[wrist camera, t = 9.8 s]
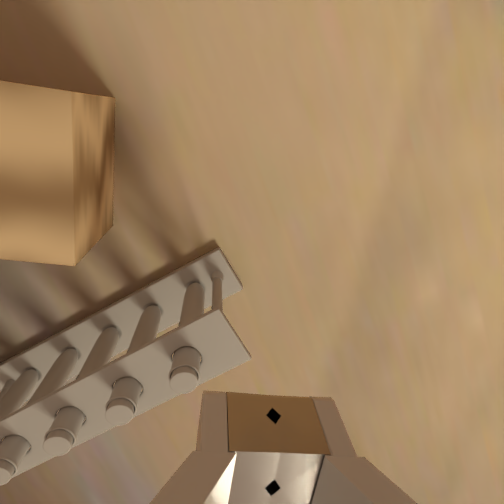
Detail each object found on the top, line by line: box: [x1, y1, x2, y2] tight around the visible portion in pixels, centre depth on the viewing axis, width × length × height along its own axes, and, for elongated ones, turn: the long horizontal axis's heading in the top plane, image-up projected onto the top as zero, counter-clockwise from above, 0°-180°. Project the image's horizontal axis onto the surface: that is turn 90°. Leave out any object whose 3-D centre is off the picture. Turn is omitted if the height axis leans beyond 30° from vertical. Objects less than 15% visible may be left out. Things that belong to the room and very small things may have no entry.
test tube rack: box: [0, 247, 251, 485], centre depth 28 cm, size 25×4×13 cm, turn 118°
